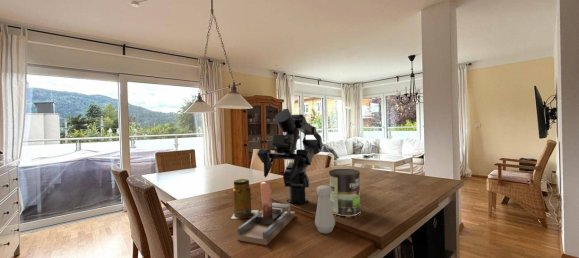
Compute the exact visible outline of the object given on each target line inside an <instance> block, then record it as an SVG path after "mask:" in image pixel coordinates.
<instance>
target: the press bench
mask: <svg viewBox="0 0 579 258" xmlns="http://www.w3.org/2000/svg"><path fill="white" fill-rule="evenodd" d="M272 207H273V208H282V215H281V216H280V217H279V218H278V219H277V220H276V221H275V222H274V223H273V224H271V225H266V224H259V223H256V216H257V215H259V214H260V213H261V212H262V209H261V210H260V211H258V214H257V215H255V216H254V217H252V218H249V219H248V220H246V221H245V222H244V223H243V224H241V225H240V226H238V227H237V235H236V236H237V237H236V238H237V239H236V240H237V241H242V242H248V243H252V244H258V245H264V246H267V245H268V244H270V243H271V242H272V241H273V239H274V238H275V237H276V236H278V234H279V233H280V232H281V231H282V230H283V229H284V228H285V227H286V226H287V225H288V224H289V223H290V222H291V221H292V220H293V219H294V218H295V217H296V211H295V210H294V211H293V210H291V204H288V203H277V202H272Z"/></svg>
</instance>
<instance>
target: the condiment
mask: <svg viewBox="0 0 579 258" xmlns="http://www.w3.org/2000/svg"><path fill="white" fill-rule="evenodd" d="M251 191H252V190H251V187H250V180H249V179H245V178H240V179H236V180H234V181H233V189H232V197H233V198H232V199H233V200H232V201H233V214H232V216H231V217H230V219H232V220H233V219H238V220H239V219H251V218H252V217H254V216H255V215H257V214H258V213H259V212H260V211H259V209H252V195H251V194H252V192H251Z"/></svg>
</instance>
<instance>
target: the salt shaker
mask: <svg viewBox="0 0 579 258" xmlns="http://www.w3.org/2000/svg"><path fill="white" fill-rule="evenodd" d="M331 193H332V189H331V187H330V185H328V184H327V185H326V184H324V185H323V184H322V185H318V186H317V187H316V195H318V199H317V203H316V211H315V218H314V225H315V227H316V229H317V231H318V232H319V233H320V234H330V233H332V232H333V230H334V227H335V225H336V219H335V215H333V210H332V206H331V201H330V195H331Z"/></svg>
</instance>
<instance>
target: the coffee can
mask: <svg viewBox="0 0 579 258" xmlns="http://www.w3.org/2000/svg"><path fill="white" fill-rule="evenodd" d="M328 173H329V186H330V187H331V189H332V193H331V195H329V196H330V201H331V206H332V210H333V212H334V213H337V214H340V215H347V216H349V215H357V214H359V213H360V214H361V190H360V189H361V186H360V185H361V184H360V180H361V179H360V178H361V177H360V176H361V174H360V173H361V171H359V170H357V169H352V168H335V169H330V170H329V171H328ZM360 214H359V215H360Z"/></svg>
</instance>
